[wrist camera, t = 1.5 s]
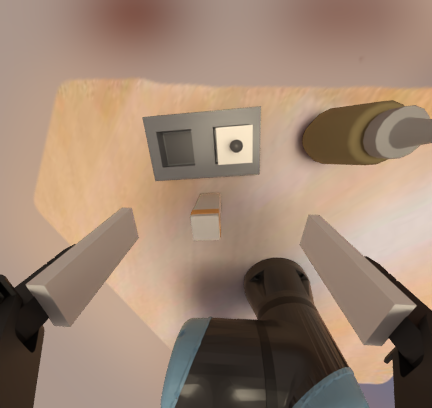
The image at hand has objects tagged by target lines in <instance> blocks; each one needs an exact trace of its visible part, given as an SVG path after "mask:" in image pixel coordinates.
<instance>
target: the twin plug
mask: <svg viewBox="0 0 432 408" xmlns="http://www.w3.org/2000/svg"><path fill="white" fill-rule="evenodd" d="M216 138H217V153H218V165H225V164H240V163H252V157H253V125H244V126H232V127H220V128H216Z"/></svg>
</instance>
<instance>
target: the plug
mask: <svg viewBox="0 0 432 408" xmlns="http://www.w3.org/2000/svg"><path fill="white" fill-rule="evenodd" d="M190 220H191V227H192V234H193V241H207V240H220V237H221V200H220V193H207V194H200V196H199V198H198V200H197V203H196V205H195V207H194V209H193V210H192V212H191V216H190Z"/></svg>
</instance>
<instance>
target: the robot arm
mask: <svg viewBox="0 0 432 408" xmlns="http://www.w3.org/2000/svg"><path fill="white" fill-rule="evenodd" d="M138 238H139V237H138V233H137V228H136V224H135V220H134V215H133V211H132V208H121V209H120V210H118V211H117V212H116V213H115V214H113V215H112V216H111V217H110V218H108V219H107V220H106V221H105V222H103V223H102V224H101V225H100V226H98V227H97V228H96V229H95V230H93V231H92V232H91V233H90V234H88V235H87V236H86V237H84V238H83V239H82V240H81V241H79V242H78V243H77V244H74V245H72V246H70V247H68V248H66V249H65V250H63V251H62V252H60V253H59V254H58V255H56V256H55V258H53V259H52V260H50V261H49V262H47V264H45V265H44V266H43V267H41V268H40V269H38V270H37V271H36V272H34V273H33V274H32V275H31V276H29V277H28V278H27V279H25V280H24V281H23V282H22V283H20V284H19V285H18V286H16V287H15V288H14V287H13V286H12V285H11V283H10V282H9V281H8V279H7V278H6V277H5V276H3V275H0V408H33V405H34V398H35V391H36V384H37V378H38V371H39V364H40V358H41V351H42V344H43V338H44V327H43V324H44V323H45V322H46V321H47V319H48V318H49V319H50V320H51V322H52V323H53V325H54V326H66V327H70V326H71V325H72V324H73V323H74V321H75V320H76V319H77V318H78V316H79V315H80V314H81V312H82V311H83V310H84V308H85V307H86V306H87V305H88V303H89V302H90V301H91V299H92V298H93V297H94V295H95V294H96V293H97V291H98V290H99V289H100V288H101V286H102V285H103V283H104V282H105V281H106V280H107V278H108V277H109V276H110V275H111V273H112V272H113V271H114V269H115V268H116V267H117V265H118V264H119V263H120V261H121V260H122V259H123V258H124V256H125V255H126V254H127V252H128V251H129V250H130V248H131V247H132V246H133V244H134V243H135V242H136V241H137V239H138ZM300 246H301V248H302V249H303V251H304V252H305V254H306V256H307V257H308V259H309V260H310V262H311V263H312V265H313V266H314V268H315V270H316V271H317V273H318V274H319V276H320V277H321V279H322V281H323V282H324V284H325V285H326V287H327V288H328V290H329V291H330V293H331V295H332V296H333V298H334V299H335V301H336V302H337V304H338V306H339V307H340V309H341V310H342V312H343V313H344V315H345V316H346V318H347V320H348V321H349V323H350V324H351V326H352V327H353V329H354V331H355V332H356V334H357V335H358V337H359V338H360V340H361V341H362V343H363V345H375V346H382V345H383V344H384V343H385V342H386V341H387V339H388V338H389V339H390V340H391V341H392V343H393V344H394V345H395V346H396V347H395V348H394V349H393V350H392V351H391V352H390V353H389V354H388V355H387V356H386V357H385V359H384V362H385V363H387V364H388V363H389V362H390V361H391V360H393V377H394V396H395V397H394V398H395V408H432V310H430V309H429V308H428V307H427V306H426V305H425V304H424V303H422V302H421V301H420V300H419V299H418V298H417V297H416V296H415V295H413V294H412V293H411V292H410V291H409V290H408V289H407V288H406V287H404V286H403V285H402V284H401V283H400V282H399V281H396V279H395V278H394V277H393V276H392V275H391V274H388V272H387V271H386V270H385V269H384V268H383V267H382V266H381V265H380V264H378V263H377V262H375V261H373V260H372V259H370V258H369V257H366V256H363V255H362V254H361V253H360V252H359V251H358V250H356V249H355V248H354V247H353V246H352V245H351V244H350V243H349V242H348V241H347V240H346V239H345V238H344V237H342V236H341V235H340V234H339V233H338V232H337V231H336V230H335V229H334V228H333V227H332V226H331V225H330V224H328V223H327V222H326V221H325V220H324V219H323V218H322V217H321V216H320V215H308V218H307V222H306V225H305V228H304V232H303V235H302V238H301V242H300ZM244 289H245V295H246V298H247V300H248V302H249V304H250V305H251V307H252V309H253V311H254V313H255V315H256V317H257V319H258V320H250V319H229V318H212V317H208V318H191V319H189V320H187V321H186V322H185V323H184V325H183V326H182V328H181V330H180V332H179V334H178V337H177V339H176V342H175V345H174V348H173V351H172V354H171V358H170V361H169V365H168V369H167V373H166V377H165V381H164V387H163V391H162V397H161V408H369V405H368V403H367V401H366V399H365V397H364V395H363V393H362V391H361V389H360V386H359V384H358V382H357V380H356V378H355V376H354V373H353V371H352V369H351V368H350V367H349V366H348V364H347V362H346V360H345V359H344V357H343V355H342V353H341V352H340V350H339V348H338V346H337V345H336V343H335V341H334V339H333V338H332V336H331V334H330V332H329V330H328V329H327V327H326V325H325V323H324V322H323V320H322V318H321V316H320V315H319V313H318V311H317V309H316V307H315V306H314V301H313V296H312V291H311V286H310V281H309V279H308V277H307V275H306V274H305V272H304V270H303V269H302V268H301V267H300V266H299V265H298V264H297V263H295V262H293V261H291V260H287V259H282V258H273V259H267V260H264V261H261V262H259V263H257V264H256V265H254V266H253V267H252V268H251V269H250V270H249V271H248V272H247V274H246V276H245V279H244Z"/></svg>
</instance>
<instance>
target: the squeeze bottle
mask: <svg viewBox="0 0 432 408" xmlns="http://www.w3.org/2000/svg"><path fill="white" fill-rule="evenodd" d="M429 143H432V119H430V117H429V115H428V114H427V112H426V111H425V109H423V108H421V107H418V106H416V105H414V106H404V105H403V104H400V103H398V102H395V101H393V100H392V101H382V102H374V103H367V104H360V105H353V106H346V107H339V108H332V109H329V110H327V111H325V112H323V113H321V114H319V116H318V117H317V118H316V119H315V120H314V121H313V122H312V123H311V124H310V125H309V126H308V127H307V128H306V130H305V132H304V134H303V139H302V144H303V147H304V149H305V151H306V152H307V154H308V155H309V156H310V157H311V158H312V159H313V160H314V161H316V162H319V163H322V164H346V165H373V164H378V163H380V162H383V161H385V160H387V159H396V158H401V157H404V156H406V155H408V154H410V153H412V152H413V151H414V150H415V149H417V148H418V147H419V146H420V145H423V144H429Z"/></svg>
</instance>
